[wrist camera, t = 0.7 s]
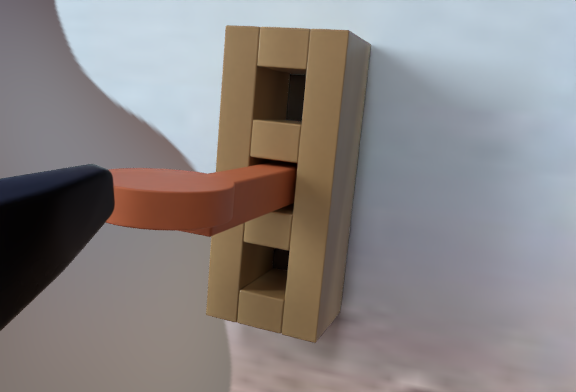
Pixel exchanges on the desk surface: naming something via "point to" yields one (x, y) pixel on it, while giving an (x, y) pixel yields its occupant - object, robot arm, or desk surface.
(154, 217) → the orange piece
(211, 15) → the desk surface
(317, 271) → the utensil rack
